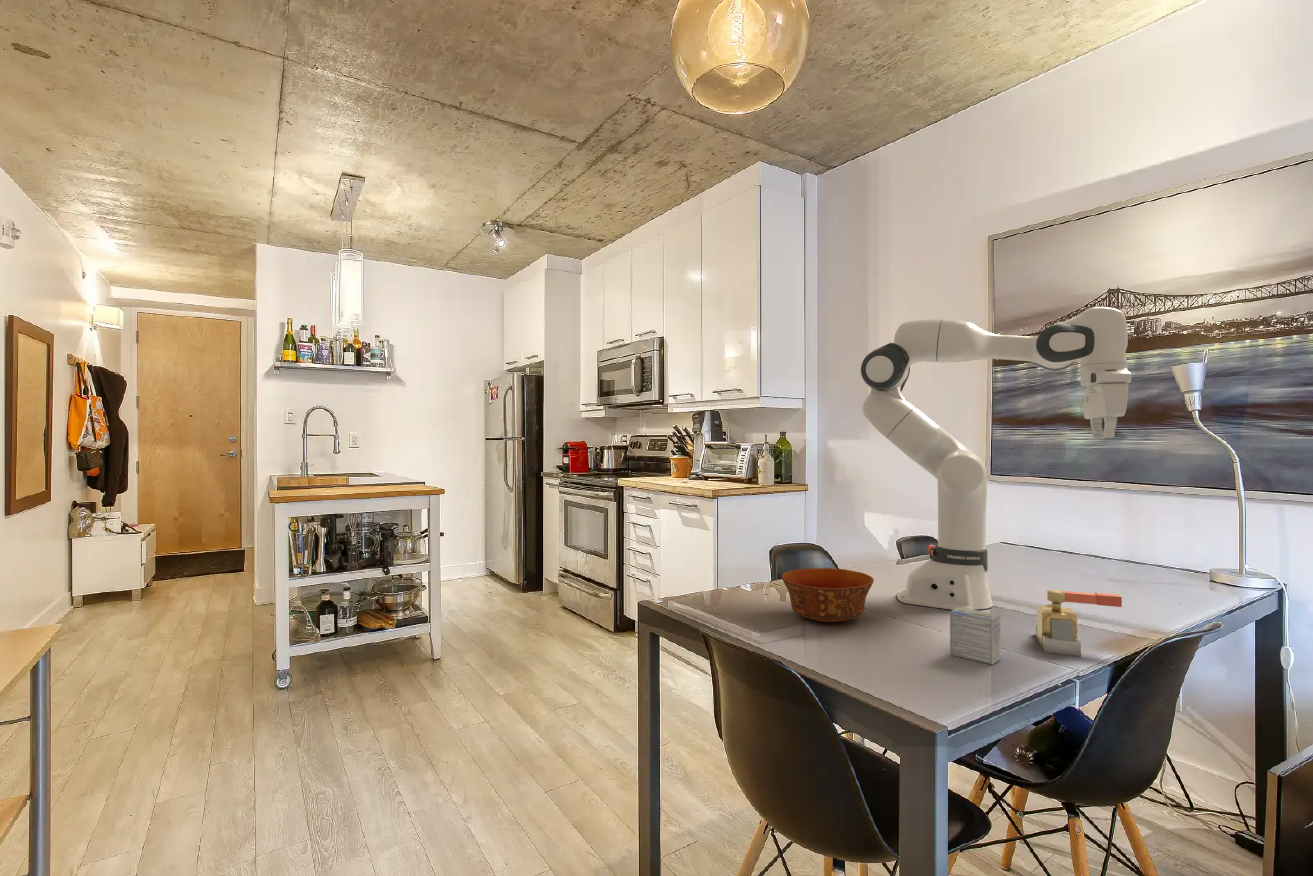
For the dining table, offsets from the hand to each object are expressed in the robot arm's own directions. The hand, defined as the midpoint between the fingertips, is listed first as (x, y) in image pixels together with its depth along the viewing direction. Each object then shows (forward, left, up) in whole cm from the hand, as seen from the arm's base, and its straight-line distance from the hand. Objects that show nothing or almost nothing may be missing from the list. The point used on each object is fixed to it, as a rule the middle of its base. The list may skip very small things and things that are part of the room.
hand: (1102, 437), depth 146 cm
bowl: (-59, -22, -43) cm, 76 cm away
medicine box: (-29, -38, -43) cm, 64 cm away
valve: (-13, -23, -42) cm, 50 cm away
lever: (-8, -23, -33) cm, 42 cm away
